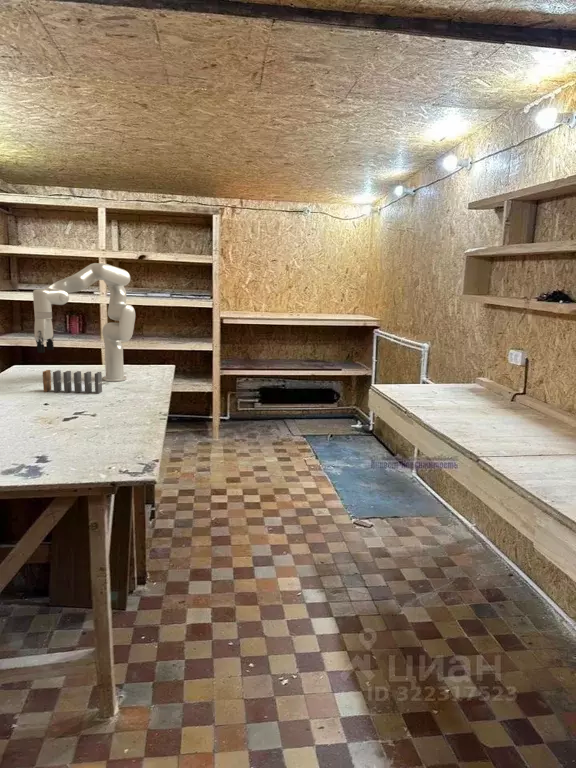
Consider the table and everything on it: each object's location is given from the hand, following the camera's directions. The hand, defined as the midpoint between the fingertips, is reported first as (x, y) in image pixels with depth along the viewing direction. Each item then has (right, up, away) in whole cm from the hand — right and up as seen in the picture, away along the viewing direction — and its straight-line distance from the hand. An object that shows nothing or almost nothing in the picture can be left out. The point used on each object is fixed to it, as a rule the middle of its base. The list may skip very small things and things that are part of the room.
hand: (45, 351), depth 247 cm
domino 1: (-1, -19, +4) cm, 20 cm away
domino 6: (+24, -20, +4) cm, 32 cm away
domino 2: (+4, -20, +4) cm, 20 cm away
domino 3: (+9, -20, +4) cm, 22 cm away
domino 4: (+14, -20, +4) cm, 25 cm away
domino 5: (+19, -20, +4) cm, 28 cm away
